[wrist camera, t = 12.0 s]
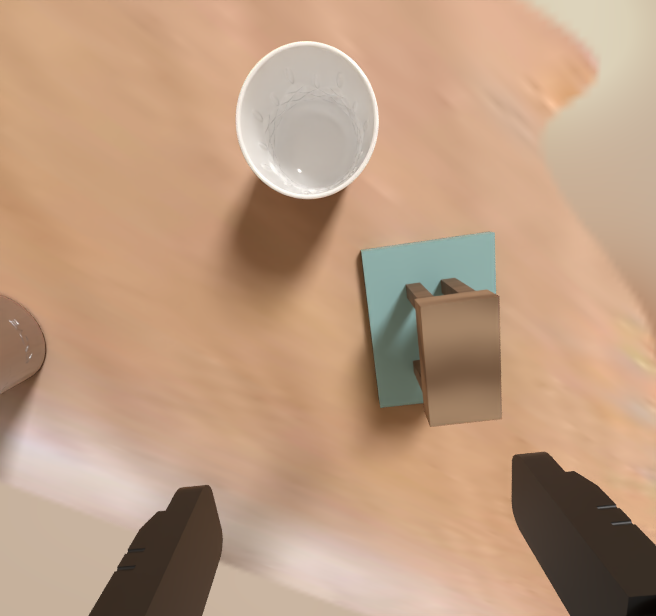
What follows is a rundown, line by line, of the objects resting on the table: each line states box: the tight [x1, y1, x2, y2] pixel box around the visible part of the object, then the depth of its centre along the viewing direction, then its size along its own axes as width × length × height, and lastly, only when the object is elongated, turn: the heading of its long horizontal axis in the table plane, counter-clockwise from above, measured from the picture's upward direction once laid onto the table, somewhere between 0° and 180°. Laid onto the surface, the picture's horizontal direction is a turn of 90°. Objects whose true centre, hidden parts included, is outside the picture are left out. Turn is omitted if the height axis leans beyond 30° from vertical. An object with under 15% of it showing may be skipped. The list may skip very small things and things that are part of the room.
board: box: [361, 232, 496, 408], centre depth 33 cm, size 11×15×1 cm
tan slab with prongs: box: [406, 278, 502, 427], centre depth 28 cm, size 9×5×8 cm, turn 8°
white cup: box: [236, 41, 379, 199], centre depth 25 cm, size 8×8×10 cm
